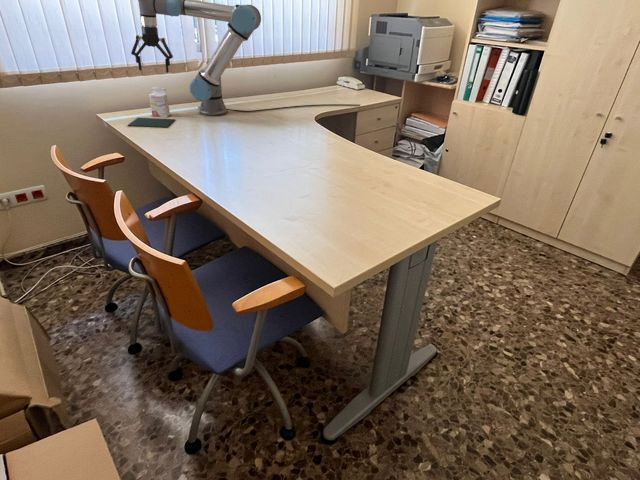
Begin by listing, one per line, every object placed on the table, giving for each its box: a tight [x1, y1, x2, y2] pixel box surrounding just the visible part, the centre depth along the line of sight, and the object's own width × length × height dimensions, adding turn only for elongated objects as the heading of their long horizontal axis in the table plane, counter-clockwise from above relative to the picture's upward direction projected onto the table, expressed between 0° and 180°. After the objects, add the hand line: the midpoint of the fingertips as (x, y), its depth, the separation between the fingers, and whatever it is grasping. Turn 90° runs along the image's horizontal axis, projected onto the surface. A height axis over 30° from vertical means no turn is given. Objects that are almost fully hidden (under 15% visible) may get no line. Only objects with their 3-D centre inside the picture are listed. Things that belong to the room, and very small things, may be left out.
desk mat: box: [127, 117, 176, 129], centre depth 210 cm, size 20×14×1 cm
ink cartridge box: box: [148, 86, 171, 118], centre depth 219 cm, size 9×5×15 cm, turn 84°
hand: (154, 71), depth 210 cm, fingers open, 13 cm apart
